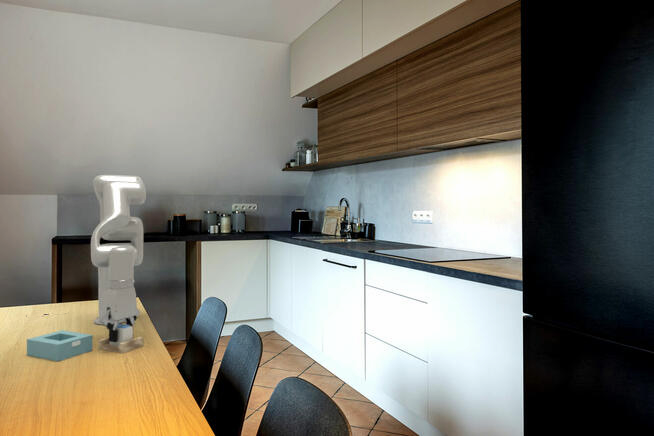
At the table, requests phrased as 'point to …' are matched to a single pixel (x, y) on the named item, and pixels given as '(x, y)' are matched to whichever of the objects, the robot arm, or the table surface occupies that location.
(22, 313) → the table surface
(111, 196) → the robot arm
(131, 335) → the white box blue label
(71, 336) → the block
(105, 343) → the wooden frame
